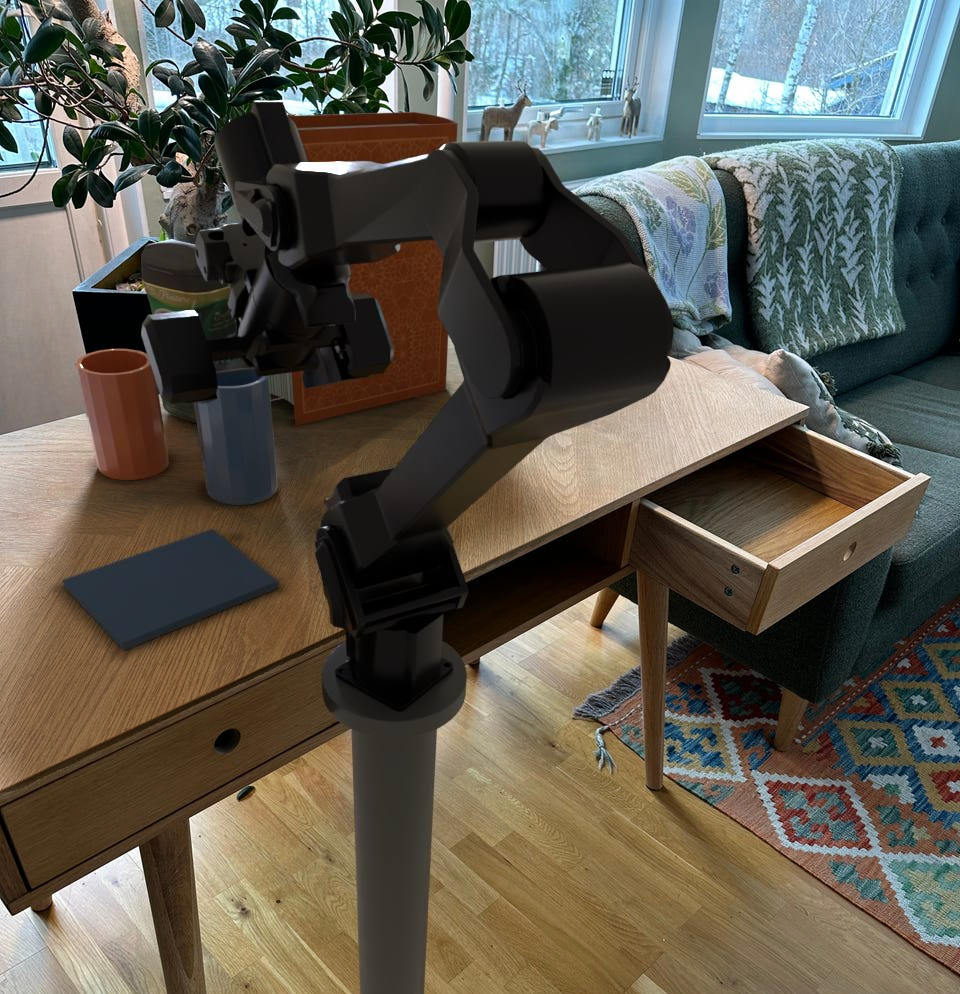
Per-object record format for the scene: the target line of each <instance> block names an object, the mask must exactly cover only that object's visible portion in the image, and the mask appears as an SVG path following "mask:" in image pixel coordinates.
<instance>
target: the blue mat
mask: <svg viewBox="0 0 960 994" xmlns="http://www.w3.org/2000/svg"><path fill="white" fill-rule="evenodd" d="M61 582H62V585H63V588H64V589H65V590H66V591H67V592H68V593H69V594H70V595H71V597H73V599H74V600H75V601H76V602H77V603H78V604H79V605H80V606H81V607H82V608H83V609H84V610H85V611H86V613H88V614H89V615H90V616H91V618H92V619H93V620H95V621H96V623H97V624H98V625H99V626H100V627H101V628H102V629H103V631H105V632H106V633H107V635H109V637H110V638H111V639H112V640H113V641H114V642H115V643H116V644H117V645H118V646H119V647H120V648H121V649H122V650H123V651H126V650H129V649H132V648H133V647H136V646H138V645H141V644H144V643H146V642H148V641H151V640H153V639H156V638H159V637H162V636H164V635H166V634H168V633H171V632H173V631H176V630H178V629H181V628H184V627H185V626H188V625H190V624H191V625H192V624H193V623H195V622H199V621H200V620H203V619H205V618H209V617H211V616H213V615H215V614H218V613H220V612H223V611H225V610H228V609H231V608H233V607H235V606H238V605H241V604H243V603H245V602H248V601H250V600H252V599H255V598H258V597H260V596H263V595H265V594H268V593H269V592H273V591H275V590H277V589H279V580H277V578H275V577H274V576H272V575H271V574H270V573H268V572H267V571H266V570H265V569H264V568H262V567H261V566H259V564H257V563H256V562H255V561H253V560H252V559H251V558H249V557H248V556H247V555H246V554H245V553H243V552H242V551H241V550H240V549H239V548H237V547H236V546H235V545H233V544H232V543H230V542H229V541H228V540H227V539H226V538H224V537H223V536H222V535H220V533H219V532H217V531H215V530H214V529H213V528H211V529H208V530H205V531H201V532H199V533H196V534H193V535H190V536H187V537H184V538H181V539H178V540H175V541H172V542H169V543H166V544H164V545H161V546H157V547H155V548H152V549H149V550H146V551H143V552H140V553H137V554H134V555H132V556H129V557H125V558H123V559H119V560H117V561H114V562H111V563H108V564H105V565H102V566H99V567H96V568H93V569H91V570H88V571H84V572H81V573H79V574H76V575H73V576H70V577H67V578H64V579H62V581H61Z"/></svg>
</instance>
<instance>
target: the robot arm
mask: <svg viewBox="0 0 960 994" xmlns="http://www.w3.org/2000/svg"><path fill="white" fill-rule="evenodd" d="M288 116H289V115H288V113H287V110H286V108H285V104H284V102H283V101H282V100H253V102H252V106H251V110H250V111H249V112H245V113H243V114H241V115H238V116H236V117H235V118H233V119H231V120H230V121H228V122H227V123H225V125H224V126H223V127H222V128H221V129H220V130H218V131H217V132H216V133H215V136H214V147H215V151H216V153H217V156H218V160H219V162H220V166H221V168H222V173H223V175H224V177H225V180H226V184H227V186H228V187H227V188H228V190H229V194H230V195H231V198H232V202H233V204H234V209H235V211H236V213H237V214H236V215H237V216H238V219H239V222H237V223H225V224H223V225H222V226H221V227H217V228H216V227H215V228H213V227H212V228H208V229H200V230H198V233H197V235H196V239H195V242H194V245H195V256H196V261H197V264H198V266H199V268H200V270H201V273H202V275H203V277H204V279H205V281H207V282H212V281H220V282H221V284H228V285H229V287H230V291H231V294H230V297H229V301H228V307H229V310H230V313H231V316H232V318H233V319H238V321H239V326H238V329H237V333H238V337H230V338H221V339H212V340H206V337H205V334H204V331H203V328H202V325H201V322H200V318H199V315H198V314H197V313H196V312H195V311H194V310H191V311H181V312H171V313H161V314H152V313H151V314H147V316H146V317H145V319H144V321H143V322H142V324H141V334H140V335H141V339H142V342H143V345H144V348H145V351H146V354H147V355H148V358H149V361H150V364H151V367H152V371H153V374H154V377H155V380H156V383H157V388H158V394H159V397H160V398H161V400H162V399H164V400H165V401H167V402H169V403H170V404H173V403H180V402H181V403H185V404H187V403H202V404H205V403H209V402H212V401H214V400H216V399H217V398H218V397H217V394H216V392H217V389H218V383H217V374H220V373H227V372H235V371H243V370H250V369H255V371H256V374H257V377H262V376H269V375H277V374H284V373H291V372H299V371H304V372H303V376H302V380H303V383H304V386H305V388H306V389H308V388H313V387H318V386H323V385H328V384H334V383H339V382H344V381H349V380H354V379H359V378H366V377H368V376H370V375H374V374H381V373H384V372H385V370H386V369H387V367H388V366H389V365H390V363H391V361H392V359H393V357H394V347H393V344H392V341H391V338H390V335H389V332H388V329H387V326H386V323H385V319H384V316H383V313H382V310H381V307H380V304H379V302H378V301H377V300H376V299H375V298H374V297H373V296H371V295H370V294H368V293H361V294H350V291H349V288H348V281H349V279H350V265H351V264H362V263H374V262H379V261H381V260H383V259H385V258H387V257H389V256H391V255H393V254H395V253H397V252H398V251H399V250H400V248H401V247H400V243H402V242H413V241H427V240H435V242H436V244H437V246H438V248H439V250H440V251H441V253H442V255H443V266H442V274H441V282H440V290H439V298H438V307H437V310H438V315H439V318H440V320H441V322H442V323H443V325H444V327H445V329H446V331H447V333H448V338H449V339H450V341H451V343H452V344H453V347H454V353H455V355H456V358H457V361H458V364H459V367H460V370H461V375H462V377H463V381H462V382H461V384H460V385H459V387H458V388H457V389H456V390H455V391H454V392H453V394H452V395H451V397H449V398H448V400H447V401H446V402H445V404H444V405H443V406H442V408H441V409H440V410H438V412H437V414H436V415H435V416H434V417H433V419H431V421H430V423H428V425H427V426H426V428H425V429H424V430H423V431H422V432H421V434H420V435H419V436H418V438H417V439H416V440H415V441H414V443H412V445H411V446H410V447H409V449H408V450H407V451H406V452H405V454H404V455H403V456H402V457H401V459H400V460H399V461H398V462H397V464H396V465H395V466H394V467H389V468H385V469H379V470H374V471H370V472H365V473H360V474H355V475H351V476H347V477H346V476H345V477H343V478H342V479H341V480H340V481H338V482H337V484H336V485H335V487H334V490H333V493H332V494H331V496H330V497H328V498H323V503H324V504H323V505H325V507H326V510H325V511H324V512H323V514H322V517H321V519H320V527H319V528H318V529H317V531H316V535H315V536H316V537H315V541H314V547H315V552H314V556H315V559H316V563H317V566H318V569H319V573H320V574H319V575H320V578H321V585H322V590H323V595H324V597H325V599H326V602H327V606H328V611H329V623H330V624H331V626H332V627H334V628H337V629H343V630H344V631H345V641H346V654H347V656H348V657H350V659H349V660H347V661H346V662H345V663H343V664H342V665H340V666H339V667H337V668H336V669H335V676H336V677H337V678H338V679H340V680H341V681H343V682H345V683H347V684H349V685H350V686H352V687H354V688H356V689H357V690H359V691H361V692H363V693H364V694H366V695H368V696H370V697H372V698H373V699H375V700H377V701H379V702H380V703H382V704H384V705H386V706H388V707H389V708H391V709H393V710H395V711H397V712H402V711H404V710H406V709H407V708H408V707H409V706H411V705H412V704H413V703H414V702H416V701H417V700H418V699H419V698H421V697H422V696H423V695H424V694H425V693H427V692H428V691H429V690H430V689H432V688H433V687H434V686H435V685H437V684H438V683H439V682H440V681H442V680H443V679H444V678H445V677H446V676H448V675H449V674H450V673H451V672H452V671H453V663H452V662H450V661H448V660H446V659H444V658H442V657H441V656H442V641H443V633H444V632H443V631H444V615H445V614H444V612H446V611H450V610H452V609H455V610H458V609H461V608H463V607H464V605H465V603H466V600H467V597H468V595H469V586H468V584H467V581H466V577H465V575H464V573H463V569H462V566H461V564H460V560H459V558H458V555H457V552H456V549H455V546H454V538H453V536H452V534H451V530H450V528H449V527H450V526H451V525H452V524H453V523H454V522H455V521H456V520H457V519H458V518H459V517H461V516H462V515H464V513H465V512H466V511H467V510H469V509H470V508H471V506H473V505H474V504H475V503H476V502H478V500H479V499H481V498H482V497H483V496H484V495H485V494H486V493H487V492H488V491H490V490H491V489H492V488H493V487H494V486H495V485H496V484H497V483H498V482H500V481H501V480H502V479H504V477H505V476H506V475H508V473H510V472H511V471H512V470H513V469H514V468H515V467H516V466H517V465H518V464H520V463H521V462H522V461H523V460H524V459H525V458H527V457H528V456H529V455H530V454H531V453H532V452H533V451H534V450H535V449H536V448H537V447H539V446H540V445H541V444H543V443H544V441H545V440H547V439H548V438H550V437H551V436H554V435H557V434H559V433H562V432H565V431H567V430H568V431H569V430H570V429H573V428H576V427H579V426H582V425H585V424H587V423H591V422H593V421H596V420H599V419H601V418H605V417H607V416H610V415H612V414H615V413H617V412H619V411H620V410H622V409H625V408H627V407H629V406H631V405H633V404H635V403H638V402H640V401H642V400H644V399H646V398H649V396H651V395H653V394H654V393H655V392H656V391H657V390H658V389H659V388H660V387H661V386H662V384H663V383H664V382H665V379H666V378H667V376H668V373H669V371H670V370H671V365H672V362H671V359H670V357H669V355H670V353H671V351H672V348H673V341H674V334H675V330H674V329H675V328H674V322H673V314H672V312H671V309H670V307H669V305H668V302H667V300H666V298H665V296H664V295H663V293H662V291H661V289H660V287H659V285H658V283H656V280H655V278H653V276H652V275H651V273H650V272H649V271H648V269H647V268H646V266H645V264H644V262H643V261H642V259H641V258H640V256H639V254H638V253H637V251H636V250H635V247H634V246H633V245H632V242H631V241H630V239H629V237H628V236H627V235H626V234H625V233H624V232H623V230H621V229H620V228H619V227H617V226H616V225H615V224H614V223H612V222H611V221H610V220H608V219H607V218H606V217H604V216H603V215H602V214H601V213H599V212H598V211H597V210H595V209H594V208H593V207H591V206H590V205H589V204H588V203H587V202H585V201H584V200H582V199H581V198H580V197H579V196H578V195H576V194H575V193H574V192H572V191H571V190H570V189H569V188H567V187H566V186H565V185H564V184H563V183H562V180H561V178H560V177H559V176H558V174H557V172H556V171H555V168H554V167H553V165H552V164H551V162H550V161H549V159H548V157H547V156H546V155H545V153H544V152H542V150H541V148H539V147H534V146H531V145H529V144H528V142H526V141H523V140H485V141H483V140H482V141H457V142H448V143H446V144H444V145H443V146H442V147H441V148H440V149H435V150H433V151H432V152H431V153H429V154H425V155H421V156H417V157H412V158H408V159H404V160H400V161H395V162H391V163H387V164H379V163H374V162H370V161H358V162H328V163H308V160H307V157H306V154H305V151H304V148H303V145H302V142H301V139H300V136H299V133H298V130H297V127H296V125H295V123H294V122H293V120H292V119H290V118H289V117H288ZM516 240H519V242H520V243H521V246H522V248H523V249H524V250H525V251H526V252H527V254H528V256H531V257H532V258H533V259H534V260H536V261H537V262H538V263H539V264H540V265H542V266H543V267H545V268H546V269H547V270H539V271H530V272H529V271H528V272H519V273H509V274H500V275H497V276H494V277H491V278H490V277H489V275H488V273H487V271H486V269H485V268H484V266H483V264H482V262H481V261H480V258H479V257H478V255H477V253H476V251H475V244H479V243H493V242H503V241H504V242H505V241H516ZM231 359H233V361H232V360H231ZM237 359H238V360H237ZM222 360H223V362H222ZM226 360H228V362H227V361H226ZM216 361H218V363H217V362H216Z"/></svg>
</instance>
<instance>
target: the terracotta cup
mask: <svg viewBox="0 0 960 994" xmlns="http://www.w3.org/2000/svg"><path fill="white" fill-rule="evenodd" d="M74 366H75V371H76V377H77V381H78V385H79V390H80V394H81V398H82V402H83V408H84V412H85V417H86V422H87V426H88V429H89V431H88V432H89V435H90V440H91V444H92V449H93V453H94V459H95V462H96V465H97V469H98V471H99V472H100V474H101V475H103V476H105V477H107V478H110V479H114V480H119V481H135V480H136V481H138V480H144V479H148V478H150V477H155V476H158V475H159V474H160V473H162V472H164V471H165V470H166V469H167V468H168V467H169V464H170V459H169V456H170V455H169V450H168V443H167V438H166V430H165V426H164V419H163V418H164V417H163V413H162V412H163V411H162V406H161V401H160V400H161V399H160V393H159V390H158V386H157V383H156V380H155V377H154V374H153V371H152V367H151V364H150V361H149V358H148V355H147V352H143V351H141V350H135V349H129V348H108V349H100V350H96V351H92V352H88V353H86V354H84V355H82V356H80V357H78V358H77V359H76V361H75V363H74Z"/></svg>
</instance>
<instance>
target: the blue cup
mask: <svg viewBox="0 0 960 994" xmlns="http://www.w3.org/2000/svg"><path fill="white" fill-rule="evenodd" d="M226 361H227V362H228V360H226ZM232 361H233V360H232ZM216 362H217V363H218V361H216ZM222 362H223V361H222ZM217 383H218V389H217V392H216V394H217V397H218V398H217V399H216V400H214V401H212V402H209V403H205V404H202V403H194V406H195V413H196V420H197V423H196V426H197V434H198V435H197V436H198V441H199V449H200V456H201V462H202V470H203V477H204V484H205V489H206V492H207V495H208V496H209V497H210V499H213V501H216V502H219V503H222V504H226V505H231V506H247V505H255V504H259V503H261V502H262V503H263V502H264V501H266V500H268V499H271V498H272V497H273V496H274V495H275V494H276V493H277V491H278V487H279V486H278V471H277V457H276V446H275V435H274V423H273V412H272V411H273V410H272V400H271V397H270V385H269V376H262V377H257V374H256V371H255V369H250V370H243V371H235V372H227V373H220V374H217Z"/></svg>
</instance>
